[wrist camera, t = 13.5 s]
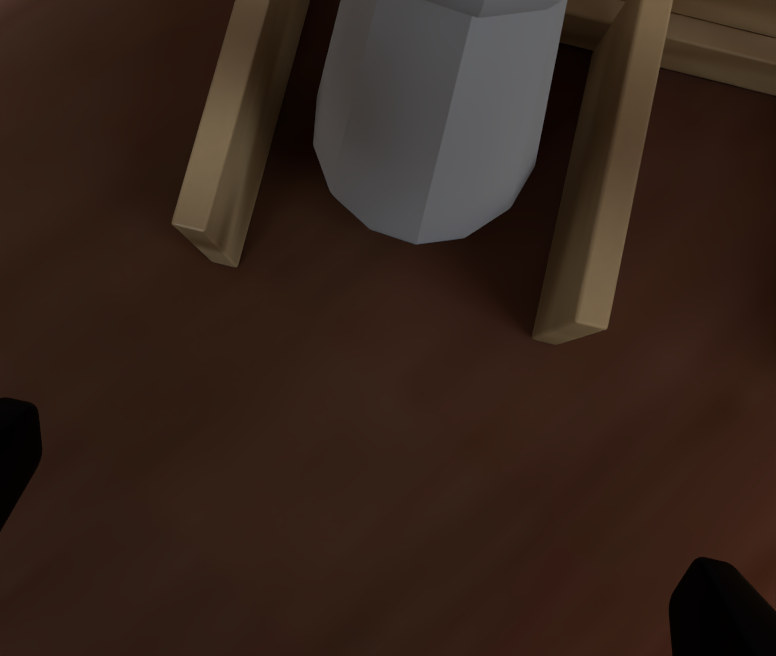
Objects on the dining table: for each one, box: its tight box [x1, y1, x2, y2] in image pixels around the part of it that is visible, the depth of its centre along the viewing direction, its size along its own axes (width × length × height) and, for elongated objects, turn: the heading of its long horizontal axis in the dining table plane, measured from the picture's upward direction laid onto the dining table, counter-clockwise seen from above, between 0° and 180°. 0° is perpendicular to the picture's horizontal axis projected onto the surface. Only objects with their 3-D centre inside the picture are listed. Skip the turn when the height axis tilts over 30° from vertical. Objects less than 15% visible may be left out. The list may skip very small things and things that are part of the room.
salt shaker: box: [313, 0, 567, 245], centre depth 13 cm, size 6×6×13 cm
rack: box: [172, 0, 776, 345], centre depth 18 cm, size 10×20×4 cm, turn 77°
